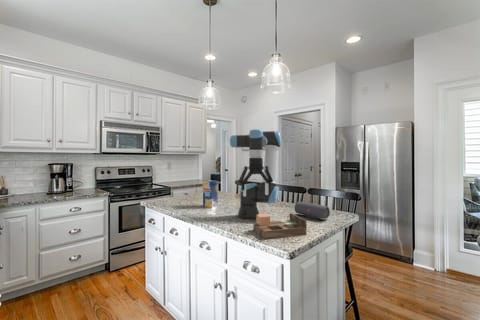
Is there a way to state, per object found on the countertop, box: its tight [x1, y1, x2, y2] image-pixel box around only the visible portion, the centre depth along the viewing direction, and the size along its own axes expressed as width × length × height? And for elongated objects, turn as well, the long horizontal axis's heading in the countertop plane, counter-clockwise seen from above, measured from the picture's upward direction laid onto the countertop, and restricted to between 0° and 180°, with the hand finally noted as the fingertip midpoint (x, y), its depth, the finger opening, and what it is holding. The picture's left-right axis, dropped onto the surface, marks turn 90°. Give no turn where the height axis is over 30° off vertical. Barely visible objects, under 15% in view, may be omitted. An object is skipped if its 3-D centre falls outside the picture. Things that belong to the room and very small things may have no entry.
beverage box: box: [202, 179, 219, 209], centre depth 201 cm, size 7×11×22 cm, turn 50°
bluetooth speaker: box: [294, 201, 330, 220], centre depth 167 cm, size 23×9×10 cm, turn 45°
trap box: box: [252, 212, 307, 240], centre depth 135 cm, size 16×25×8 cm, turn 108°
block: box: [255, 213, 271, 226], centre depth 136 cm, size 6×6×5 cm
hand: (255, 195), depth 133 cm, fingers open, 13 cm apart
